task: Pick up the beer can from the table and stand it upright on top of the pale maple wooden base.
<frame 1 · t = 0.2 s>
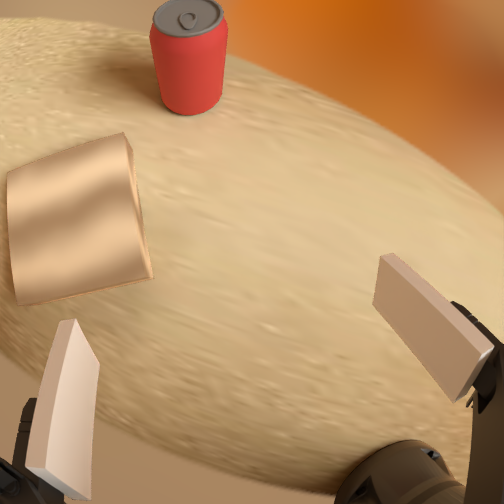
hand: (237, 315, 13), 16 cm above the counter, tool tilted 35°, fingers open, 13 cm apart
beer can: (191, 94, 31), on the counter
maple base: (80, 226, 27), on the counter
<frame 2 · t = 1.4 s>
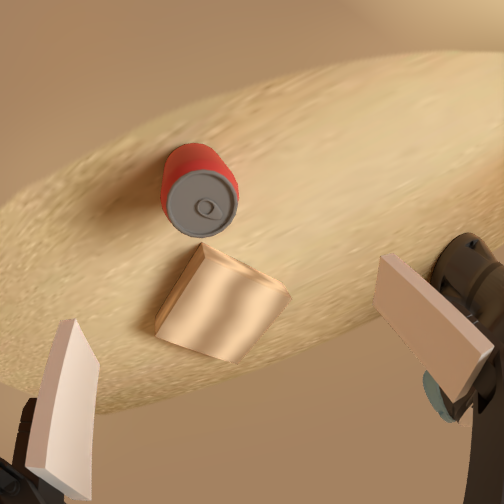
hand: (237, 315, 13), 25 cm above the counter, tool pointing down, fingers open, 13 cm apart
beer can: (192, 170, 34), on the counter
maple base: (218, 300, 43), on the counter
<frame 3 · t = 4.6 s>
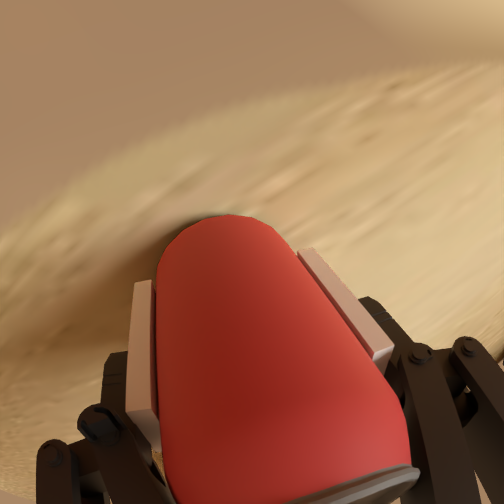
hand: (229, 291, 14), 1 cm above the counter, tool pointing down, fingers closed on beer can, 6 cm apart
beer can: (223, 271, 16), on the counter, touching gripper
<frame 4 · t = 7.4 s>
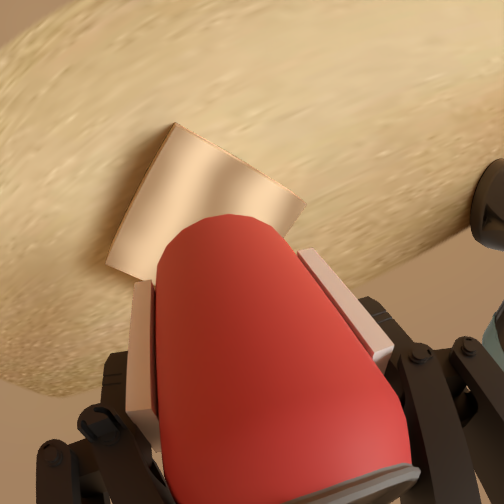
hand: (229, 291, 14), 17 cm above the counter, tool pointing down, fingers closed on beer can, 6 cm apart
beer can: (223, 270, 15), point 15 cm above the counter, touching gripper
maple base: (200, 215, 30), on the counter
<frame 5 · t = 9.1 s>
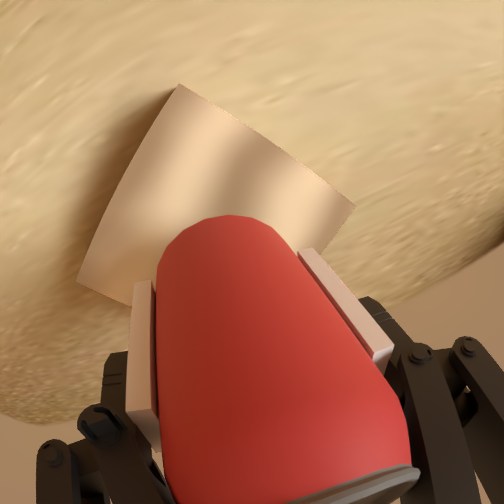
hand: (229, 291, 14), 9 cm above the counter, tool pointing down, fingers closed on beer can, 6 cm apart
beer can: (223, 271, 15), point 7 cm above the counter, touching gripper
maple base: (208, 217, 22), on the counter
when the fingers open (7 cm above the counter, at t = 10.3 s): beer can drops 1 cm, resting on maple base.
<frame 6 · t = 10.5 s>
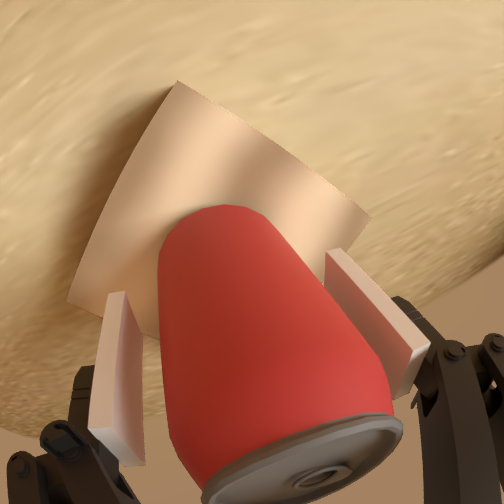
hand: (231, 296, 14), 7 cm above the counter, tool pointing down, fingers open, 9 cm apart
beer can: (219, 258, 17), point 4 cm above the counter, touching maple base
maple base: (209, 228, 20), on the counter
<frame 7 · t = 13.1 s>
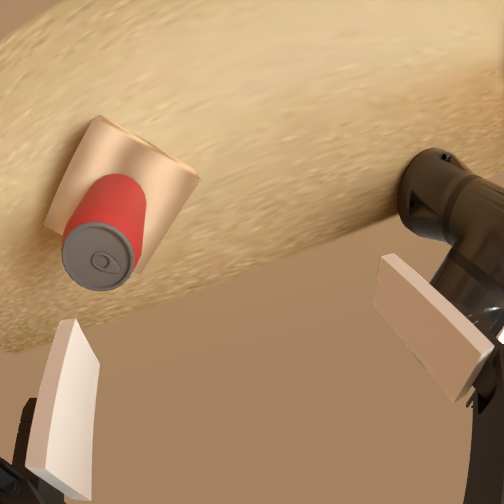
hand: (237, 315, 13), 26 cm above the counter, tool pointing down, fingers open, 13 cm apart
beer can: (116, 201, 31), point 4 cm above the counter, touching maple base
maple base: (120, 190, 34), on the counter
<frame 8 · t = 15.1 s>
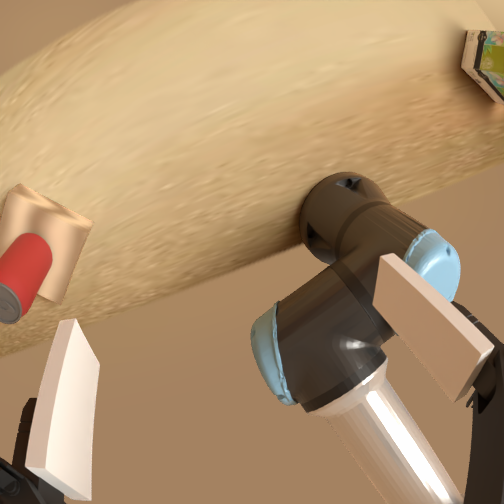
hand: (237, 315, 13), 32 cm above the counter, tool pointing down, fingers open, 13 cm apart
beer can: (34, 252, 36), point 4 cm above the counter, touching maple base
tea box: (482, 67, 42), on the counter
maple base: (42, 240, 39), on the counter
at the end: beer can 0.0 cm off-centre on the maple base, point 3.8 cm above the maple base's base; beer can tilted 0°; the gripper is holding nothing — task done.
